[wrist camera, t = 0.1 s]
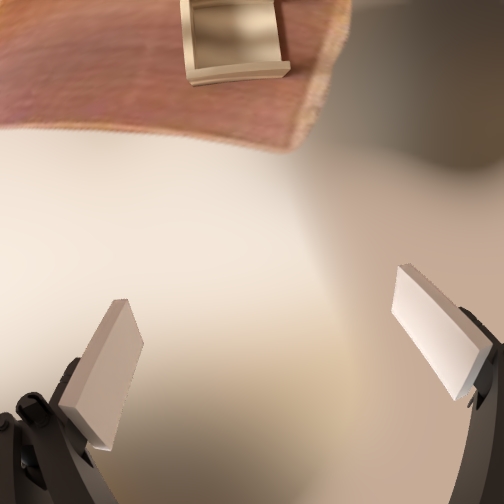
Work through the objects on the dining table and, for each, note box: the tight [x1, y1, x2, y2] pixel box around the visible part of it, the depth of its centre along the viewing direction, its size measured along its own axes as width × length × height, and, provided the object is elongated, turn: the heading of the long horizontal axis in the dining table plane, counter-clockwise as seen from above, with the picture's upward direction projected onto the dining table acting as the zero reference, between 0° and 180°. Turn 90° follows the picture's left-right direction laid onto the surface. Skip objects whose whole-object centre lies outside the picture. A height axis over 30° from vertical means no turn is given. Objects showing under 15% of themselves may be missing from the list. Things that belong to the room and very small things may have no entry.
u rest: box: [180, 0, 291, 87], centre depth 28 cm, size 12×12×6 cm
